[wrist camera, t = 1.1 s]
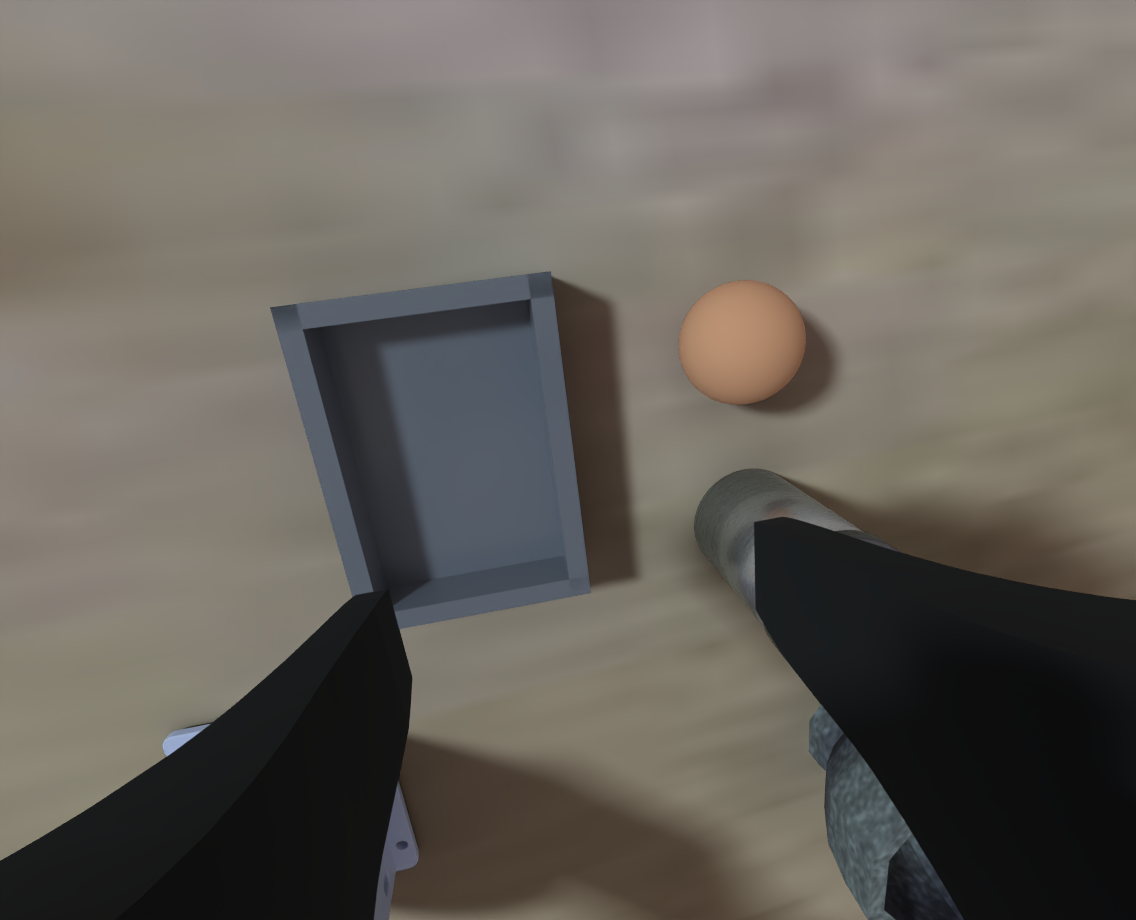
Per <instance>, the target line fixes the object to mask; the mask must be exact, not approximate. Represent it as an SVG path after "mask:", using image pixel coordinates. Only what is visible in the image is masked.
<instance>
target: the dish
mask: <svg viewBox="0 0 1136 920" xmlns="http://www.w3.org/2000/svg"><path fill="white" fill-rule="evenodd" d="M270 309H271V312H272V316H273V319H274V323H275V326H276V330H277V333H278V337H279V340H280V344H281V347H282V351H283V354H284V358H285V361H286V365H287V368H288V372H289V375H290V379H291V382H292V386H293V389H294V393H295V396H296V400H297V403H298V407H299V410H300V414H301V417H302V421H303V425H304V428H305V432H306V435H307V439H308V442H309V446H310V449H311V453H312V456H313V460H314V463H315V467H316V470H317V474H318V477H319V481H320V484H321V488H322V491H323V495H324V498H325V502H326V505H327V509H328V512H329V516H330V519H331V523H332V526H333V530H334V533H335V537H336V540H337V544H338V547H339V551H340V554H341V558H342V561H343V565H344V569H345V572H346V576H347V579H348V583H349V586H350V590H351V593H352V597H354V596H355V595H358V594H364V593H369V592H374V591H380V590H385V589H389V593H390V597H391V600H392V604H393V608H394V611H395V615H396V619H397V623H398V626H399V629H402V628H407V627H412V626H417V625H423V624H428V623H433V622H439V621H444V620H449V619H455V618H460V617H465V616H471V615H476V614H481V613H487V612H492V611H497V610H503V609H508V608H513V607H519V606H524V605H529V604H534V603H540V602H545V601H550V600H556V599H561V598H566V597H572V596H577V595H582V594H588V593H591V590H590V582H589V574H588V566H587V558H586V550H585V542H584V534H583V526H582V518H581V510H580V502H579V494H578V486H577V478H576V470H575V462H574V454H573V446H572V438H571V430H570V422H569V414H568V406H567V397H566V389H565V381H564V373H563V365H562V357H561V349H560V341H559V333H558V325H557V317H556V309H555V301H554V293H553V285H552V277H551V271H550V272H543V273H535V274H527V275H519V276H511V277H504V278H496V279H488V280H480V281H473V282H465V283H457V284H449V285H441V286H434V287H426V288H418V289H410V290H402V291H395V292H387V293H379V294H371V295H363V296H356V297H348V298H340V299H332V300H325V301H317V302H309V303H301V304H293V305H286V306H278V307H270Z"/></svg>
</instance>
